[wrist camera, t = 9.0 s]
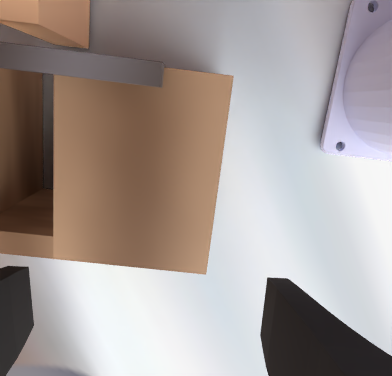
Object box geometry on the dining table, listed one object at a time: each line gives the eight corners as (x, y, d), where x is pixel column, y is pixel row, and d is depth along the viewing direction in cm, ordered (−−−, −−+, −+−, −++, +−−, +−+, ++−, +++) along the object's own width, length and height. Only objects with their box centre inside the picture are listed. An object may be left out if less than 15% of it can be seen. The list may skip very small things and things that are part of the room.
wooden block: (220, 82, 18) (236, 71, 11) (202, 221, 20) (206, 283, 13) (-81, 45, 17) (-258, 10, 10) (-66, 192, 19) (-206, 241, 12)
